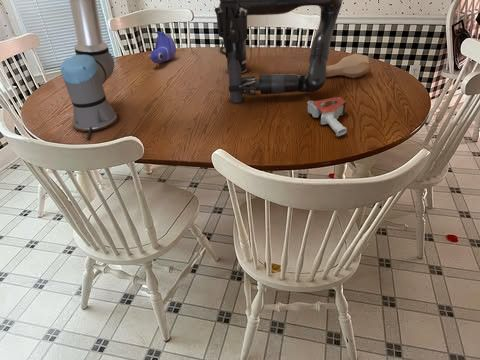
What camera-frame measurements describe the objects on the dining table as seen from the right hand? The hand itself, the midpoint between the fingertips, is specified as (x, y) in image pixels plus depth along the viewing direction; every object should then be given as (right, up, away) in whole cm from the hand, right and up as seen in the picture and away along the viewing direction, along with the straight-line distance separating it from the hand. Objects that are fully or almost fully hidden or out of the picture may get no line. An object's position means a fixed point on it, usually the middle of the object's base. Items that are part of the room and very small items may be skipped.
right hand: (229, 86), depth 140 cm
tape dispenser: (+35, -16, -15) cm, 42 cm away
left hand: (+2, +9, -6) cm, 11 cm away
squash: (+52, +10, +19) cm, 56 cm away
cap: (+2, +10, -8) cm, 13 cm away
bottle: (+3, -5, +4) cm, 7 cm away
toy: (-36, +25, +47) cm, 64 cm away
